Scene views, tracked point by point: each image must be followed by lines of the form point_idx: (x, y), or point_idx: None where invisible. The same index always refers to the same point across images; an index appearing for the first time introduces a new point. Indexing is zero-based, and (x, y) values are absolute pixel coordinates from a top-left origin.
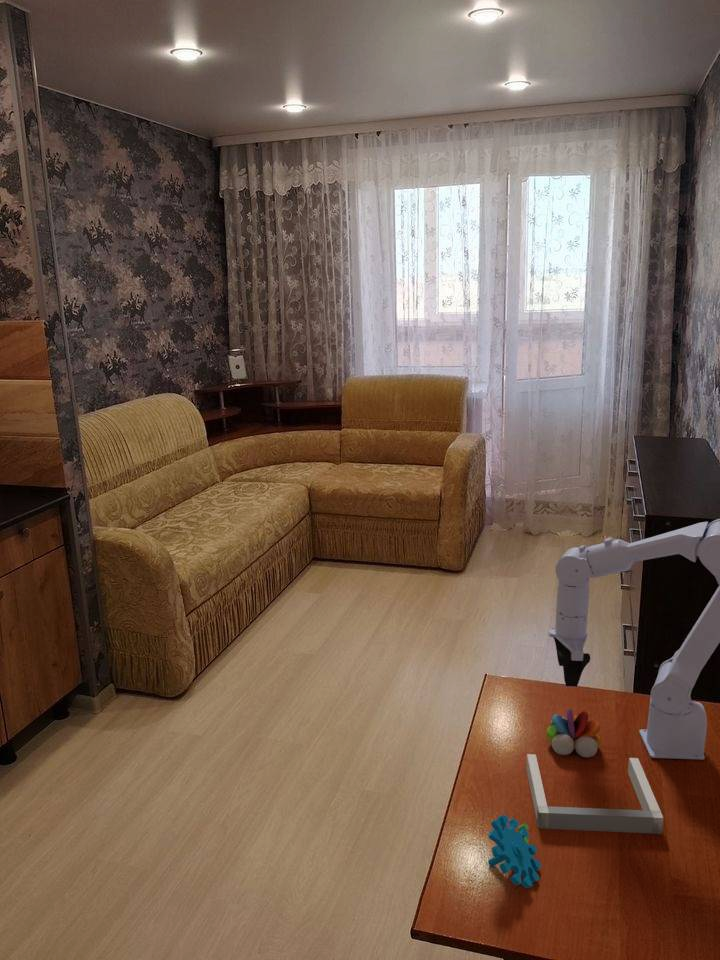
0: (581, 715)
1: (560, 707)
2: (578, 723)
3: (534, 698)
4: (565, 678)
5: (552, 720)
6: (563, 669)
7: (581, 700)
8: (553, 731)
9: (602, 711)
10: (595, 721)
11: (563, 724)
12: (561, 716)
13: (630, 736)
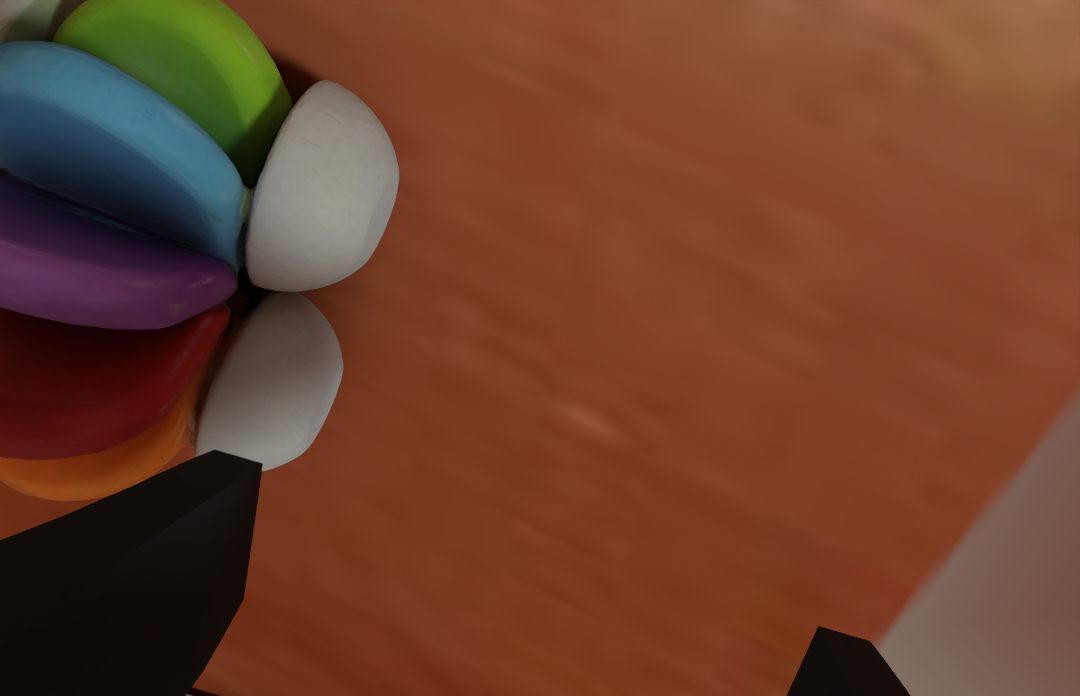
0: (28, 388)
1: (753, 363)
2: (20, 313)
3: (988, 184)
4: (106, 501)
5: (57, 45)
6: (47, 582)
7: (803, 578)
8: (131, 50)
9: (607, 645)
10: (79, 487)
11: (79, 166)
12: (204, 206)
13: (279, 657)
